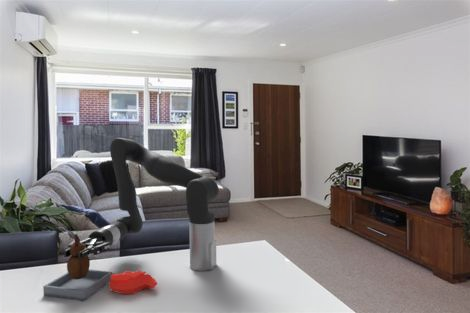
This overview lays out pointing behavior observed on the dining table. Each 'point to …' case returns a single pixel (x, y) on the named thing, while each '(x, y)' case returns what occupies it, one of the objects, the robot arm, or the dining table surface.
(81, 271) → the wooden figurine
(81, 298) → the slate dish
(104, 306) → the dining table surface
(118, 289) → the animal figurine
